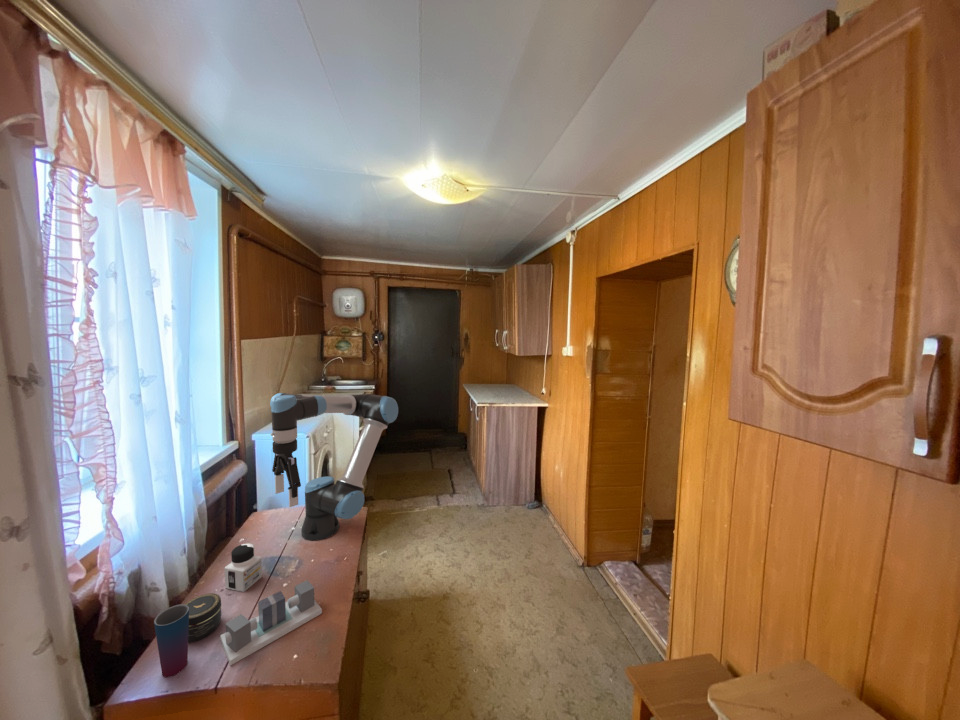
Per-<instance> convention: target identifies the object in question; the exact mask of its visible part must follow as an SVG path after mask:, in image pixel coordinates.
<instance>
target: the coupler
mask: <svg viewBox="0 0 960 720" xmlns="http://www.w3.org/2000/svg"><path fill="white" fill-rule="evenodd" d="M285 602H286V597H285V595H284V594H283V592H282V591H281V590H279V591H278V592H275V593H273V594H270V595H269V596H267V597H265V598H263V599H261V600H258V602H257V604H258V605H257V606H258V610H257V611H258V616H259V625H260V627H261V629H262V630H263V632H264V631H266V630H268V629H270V628H271V627H274V626H276V625H277V624H279V623H281V622H282V621H284V620H286V608H285Z"/></svg>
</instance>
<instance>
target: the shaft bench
mask: <svg viewBox="0 0 960 720" xmlns="http://www.w3.org/2000/svg"><path fill="white" fill-rule="evenodd" d="M285 608H286V620H284V621H282V622H281V623H279V624H277V625H276V626H274V627H271V628H270V629H268V630H266V631H264V632H263V630H262V629H261V627H260V625H259V615H257V616H255V617H253V618H251V619H248V618H247V617H246V616H245V615H243V614H242V613H240V614H239V615H237V616H236V617H234V618H232V619H231V620H229V621H228V622H226V623H225V632H224V633H222V634H220V635H219V640H220V643H221V646H222V648H223V651H224V653H225V655H226V659H227V661H228V664H229V666H232V665H234V664H236V663H237V662H239V661H241V660H243V659H245V658H247V657H248V656H250V655H252V654H254V653H255V652H258V651H259V650H260V649H263V648H264V647H265V646H267V645H269V644H271V643H273V642H274V641H277V639H280V638H281V637H283V636H285V635H286V634H288V633H290V632H292V631H293V630H296V629H297V628H299V627H300V626H301V627H302V625H304V624H306V623H307V622H309V621H311V620H313V619H315V618H316V617H318V616H320V615H321V614H323V609H322V608H321V606H320V604H319V603H318V602H317V601H316V600H315V587H314V586H313V584H312V583H311V582H310V581H309V580H308V579H307V580H305V581H302V582H300V583H298V584H296V585H294V595H293V596H291V597H289V598H288V599H287V601H286V600H285Z"/></svg>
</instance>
